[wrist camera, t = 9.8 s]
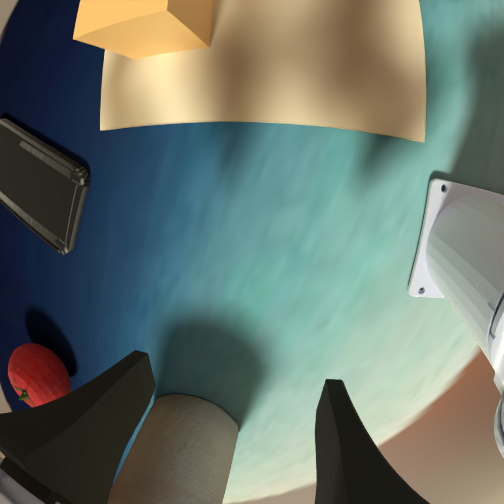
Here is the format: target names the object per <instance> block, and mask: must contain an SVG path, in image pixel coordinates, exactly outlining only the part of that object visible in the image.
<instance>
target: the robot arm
mask: <svg viewBox="0 0 504 504" xmlns="http://www.w3.org/2000/svg"><path fill="white" fill-rule="evenodd" d="M443 184H444V185H445V190H444V191H441V187H442V185H443ZM422 287H423V289H422V290H421V291H419V289H420V288H422ZM408 293H409V294H410V295H411V296H413V297H431V298H446V299H447V301H448V302H449V303H450V305H451V306H452V307H453V309H454V310H455V311H456V313H457V314H458V316H459V317H460V318H461V320H462V321H463V323H464V324H465V325H466V327H467V328H468V330H469V331H470V333H471V334H472V336H473V337H474V339H475V340H476V342H477V343H478V345H479V346H480V348H481V349H482V351H483V352H484V354H485V355H486V357H487V359H488V360H489V362H490V363H491V365H492V367H493V368H494V370H495V377H494V382H495V384H496V386H497V387H498V390H499V391H500V393H501V395H502V398H501V400H500V402H499V405H498V407H497V410H496V414H495V420H494V434H495V439H496V443H497V445H498V448H499V451H500V452H501V454H502V455H503V457H504V195H502V194H498V193H495V192H491V191H488V190H484V189H480V188H476V187H472V186H468V185H464V184H460V183H456V182H451V181H447V180H442V179H437V178H434V179H432V180H431V181H430V184H429V189H428V196H427V203H426V209H425V215H424V220H423V225H422V231H421V236H420V240H419V245H418V249H417V254H416V258H415V262H414V266H413V270H412V274H411V278H410V281H409V285H408ZM155 387H156V384H155V380H154V376H153V372H152V368H151V364H150V360H149V356H148V353H145V352H141V351H137V350H135V351H133V352H132V353H130V354H129V355H128V356H126V357H125V358H123V359H122V360H121V361H119V362H118V363H117V364H115V365H114V366H112V367H111V368H109V369H108V370H107V371H105V372H104V373H102V374H101V375H99V376H98V377H96V378H95V379H93V380H91V381H90V382H88V383H86V384H85V385H83V386H82V387H80V388H78V389H76V390H74V391H73V392H71V393H69V394H67V395H64V396H62V397H60V398H58V399H55V400H53V401H50V402H48V403H45V404H42V405H39V406H36V407H33V408H29V409H25V410H21V411H16V412H9V413H2V414H0V451H1V452H2V453H3V454H4V455H5V456H6V457H5V458H4V460H3V459H2V458H1V457H0V504H107V503H108V499H109V495H110V491H111V487H112V484H113V480H114V477H115V474H116V471H117V468H118V466H119V463H120V460H121V458H122V455H123V452H124V450H125V448H126V446H127V444H128V442H129V440H130V438H131V436H132V434H133V433H134V431H135V429H136V427H137V425H138V424H139V422H140V420H141V418H142V416H143V414H144V413H145V411H146V409H147V407H148V405H149V403H150V400H151V398H152V395H153V392H154V390H155ZM315 446H316V471H317V486H316V497H315V504H430V503H429V502H427V501H426V500H425V499H423V498H422V497H421V496H420V495H419V494H418V493H417V492H415V491H414V490H413V489H412V488H411V487H410V486H409V485H408V484H407V483H406V482H405V481H404V480H403V479H402V478H401V477H400V476H399V475H398V473H396V471H395V470H394V469H393V468H392V467H391V466H390V464H389V463H388V462H387V460H386V459H385V458H384V457H383V455H382V454H381V452H380V451H379V449H378V448H377V446H376V445H375V443H374V442H373V440H372V439H371V437H370V435H369V434H368V432H367V430H366V429H365V427H364V425H363V423H362V421H361V419H360V418H359V416H358V414H357V412H356V410H355V408H354V406H353V404H352V401H351V399H350V397H349V395H348V392H347V390H346V388H345V385H344V382H343V381H342V380H335V379H326V381H325V384H324V387H323V391H322V394H321V397H320V400H319V404H318V407H317V410H316V423H315Z"/></svg>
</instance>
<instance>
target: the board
mask: <svg viewBox="0 0 504 504" xmlns="http://www.w3.org/2000/svg"><path fill="white" fill-rule="evenodd" d="M425 121H426V66H425V49H424V37H423V27H422V19H421V11H420V5H419V0H213V8H212V20H211V34H210V48H205V49H195V50H187V51H179V52H172V53H166V54H160V55H155V56H149V57H144V58H139V59H135V60H134V59H131V58H129V57H126V56H123V55H121V54H118V53H115V52H112V51H109V50H106V49H105V56H104V66H103V77H102V92H101V116H100V130H112V129H120V128H128V127H138V126H148V125H160V124H175V123H195V122H262V123H283V124H298V125H310V126H321V127H330V128H339V129H346V130H354V131H361V132H367V133H374V134H380V135H385V136H391V137H396V138H401V139H406V140H411V141H416V142H424V140H425Z"/></svg>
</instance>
